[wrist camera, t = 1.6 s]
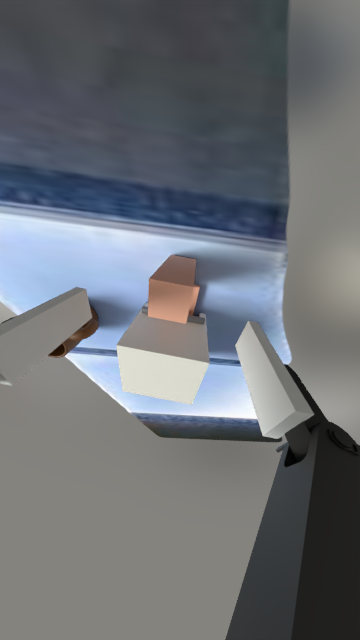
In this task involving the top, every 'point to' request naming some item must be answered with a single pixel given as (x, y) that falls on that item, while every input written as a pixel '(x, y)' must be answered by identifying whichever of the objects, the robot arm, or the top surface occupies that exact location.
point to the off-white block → (164, 357)
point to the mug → (77, 336)
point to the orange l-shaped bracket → (173, 290)
